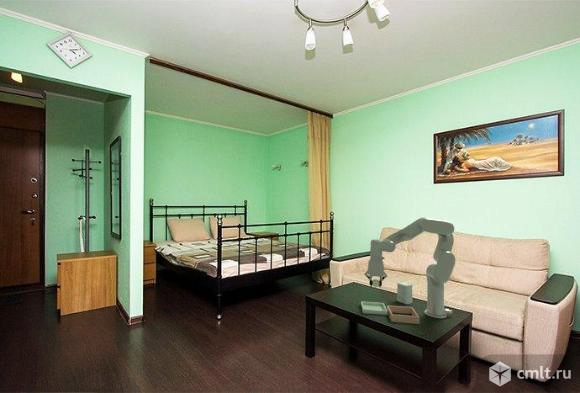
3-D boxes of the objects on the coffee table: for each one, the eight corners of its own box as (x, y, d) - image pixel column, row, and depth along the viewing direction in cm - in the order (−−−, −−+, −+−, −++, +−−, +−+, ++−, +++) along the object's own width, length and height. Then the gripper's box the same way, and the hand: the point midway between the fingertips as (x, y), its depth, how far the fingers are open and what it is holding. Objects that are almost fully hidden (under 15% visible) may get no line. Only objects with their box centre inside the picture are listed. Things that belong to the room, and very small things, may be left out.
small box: (412, 303, 196) (412, 284, 197) (406, 304, 193) (406, 285, 194) (402, 299, 203) (402, 281, 204) (397, 301, 200) (397, 282, 201)
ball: (378, 286, 184) (379, 278, 184) (380, 288, 179) (380, 280, 179) (371, 285, 185) (371, 278, 185) (372, 287, 180) (372, 280, 180)
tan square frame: (412, 313, 177) (412, 307, 178) (419, 323, 162) (419, 317, 162) (386, 311, 180) (386, 305, 180) (391, 321, 165) (391, 314, 165)
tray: (383, 306, 189) (383, 302, 189) (387, 315, 174) (387, 311, 174) (361, 304, 191) (361, 301, 191) (362, 313, 176) (363, 309, 177)
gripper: (388, 258, 185) (387, 285, 184) (362, 256, 188) (361, 283, 187) (390, 260, 177) (390, 289, 177) (363, 259, 180) (362, 287, 180)
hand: (375, 286), depth 182 cm, fingers closed on ball, 4 cm apart
